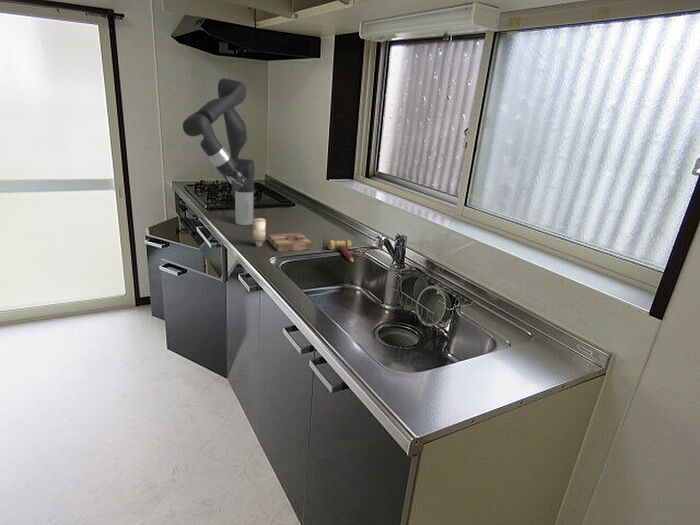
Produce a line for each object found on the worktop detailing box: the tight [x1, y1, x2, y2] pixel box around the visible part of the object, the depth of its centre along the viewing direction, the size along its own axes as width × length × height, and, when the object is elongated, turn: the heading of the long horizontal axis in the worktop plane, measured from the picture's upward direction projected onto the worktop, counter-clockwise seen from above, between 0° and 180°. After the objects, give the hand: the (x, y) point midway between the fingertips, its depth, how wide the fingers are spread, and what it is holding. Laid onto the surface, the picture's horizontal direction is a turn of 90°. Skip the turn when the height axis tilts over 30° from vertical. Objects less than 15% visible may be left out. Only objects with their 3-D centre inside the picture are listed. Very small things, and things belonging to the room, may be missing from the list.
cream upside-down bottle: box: [252, 217, 267, 247], centre depth 201 cm, size 6×6×12 cm
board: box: [267, 232, 313, 252], centre depth 207 cm, size 16×16×3 cm
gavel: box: [327, 239, 354, 263], centre depth 200 cm, size 21×5×10 cm
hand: (243, 190), depth 192 cm, fingers open, 8 cm apart
